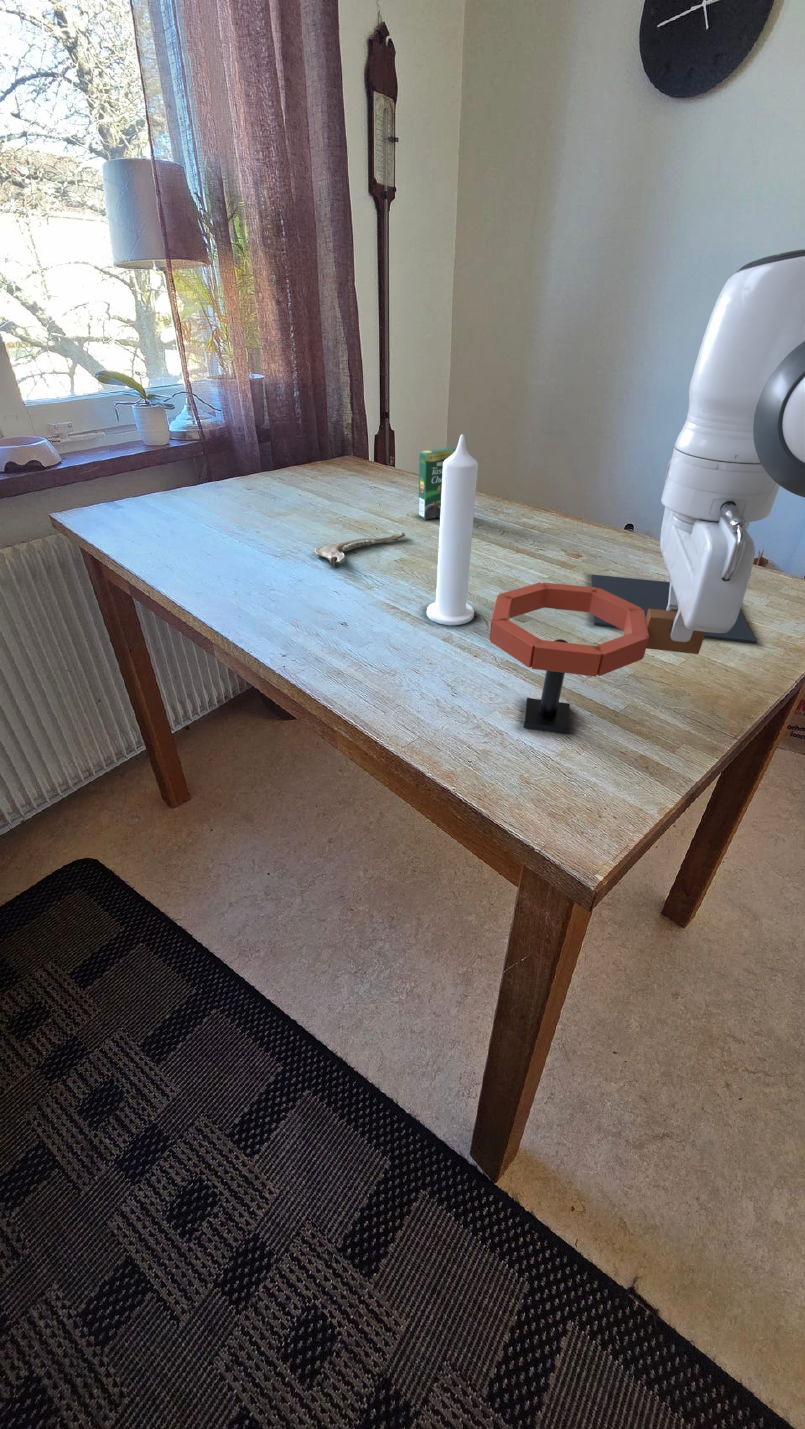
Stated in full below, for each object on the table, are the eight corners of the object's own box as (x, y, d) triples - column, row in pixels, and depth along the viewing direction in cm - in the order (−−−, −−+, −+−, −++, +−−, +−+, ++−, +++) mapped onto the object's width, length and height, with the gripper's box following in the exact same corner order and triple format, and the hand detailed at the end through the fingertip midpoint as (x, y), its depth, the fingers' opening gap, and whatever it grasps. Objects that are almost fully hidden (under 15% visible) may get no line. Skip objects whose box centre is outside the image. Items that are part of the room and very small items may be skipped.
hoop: (686, 616, 67) (695, 586, 64) (710, 690, 55) (722, 657, 53) (499, 597, 70) (502, 569, 68) (483, 663, 58) (486, 631, 56)
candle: (450, 599, 94) (462, 426, 79) (483, 616, 90) (502, 435, 75) (416, 612, 90) (422, 433, 76) (449, 630, 86) (462, 443, 71)
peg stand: (568, 708, 71) (585, 632, 65) (568, 734, 67) (586, 655, 61) (526, 702, 72) (538, 627, 66) (523, 727, 68) (536, 649, 62)
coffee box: (423, 521, 124) (425, 453, 116) (416, 516, 126) (418, 450, 118) (456, 515, 127) (461, 449, 119) (449, 511, 129) (453, 446, 121)
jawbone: (301, 564, 106) (299, 552, 105) (369, 532, 120) (368, 522, 119) (341, 571, 102) (340, 560, 101) (407, 538, 116) (407, 527, 115)
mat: (728, 590, 99) (729, 588, 98) (755, 643, 84) (756, 641, 84) (591, 576, 102) (591, 574, 102) (593, 625, 88) (594, 622, 88)
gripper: (794, 530, 43) (731, 690, 51) (734, 460, 59) (693, 591, 67) (700, 523, 44) (654, 681, 52) (666, 457, 60) (635, 586, 68)
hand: (676, 630), depth 60 cm, fingers closed on hoop, 2 cm apart
